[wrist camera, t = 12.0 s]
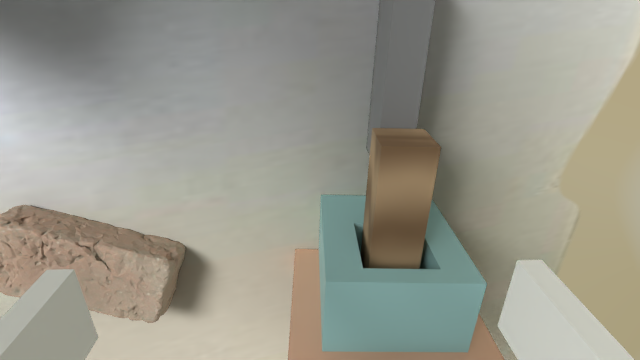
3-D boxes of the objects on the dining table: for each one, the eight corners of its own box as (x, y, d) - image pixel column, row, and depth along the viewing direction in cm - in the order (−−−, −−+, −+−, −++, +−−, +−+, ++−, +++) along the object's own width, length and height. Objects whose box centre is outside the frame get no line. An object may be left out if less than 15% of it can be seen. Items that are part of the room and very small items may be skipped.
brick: (187, 240, 39) (172, 268, 34) (174, 299, 42) (159, 331, 38) (20, 196, 36) (-20, 221, 32) (20, 262, 40) (-16, 293, 35)
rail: (383, -44, 28) (399, -56, 23) (419, -42, 28) (443, -54, 23) (366, 148, 35) (375, 170, 30) (395, 148, 35) (410, 171, 30)
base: (295, 249, 39) (287, 362, 26) (444, 251, 40) (507, 364, 27) (295, 271, 40) (287, 391, 28) (439, 273, 41) (497, 391, 28)
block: (320, 194, 37) (325, 281, 25) (430, 196, 37) (487, 283, 25) (318, 249, 39) (322, 351, 27) (421, 250, 40) (468, 352, 28)
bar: (372, 127, 28) (381, 146, 24) (424, 129, 28) (441, 147, 25) (359, 265, 34) (365, 296, 30) (403, 265, 34) (414, 296, 30)
